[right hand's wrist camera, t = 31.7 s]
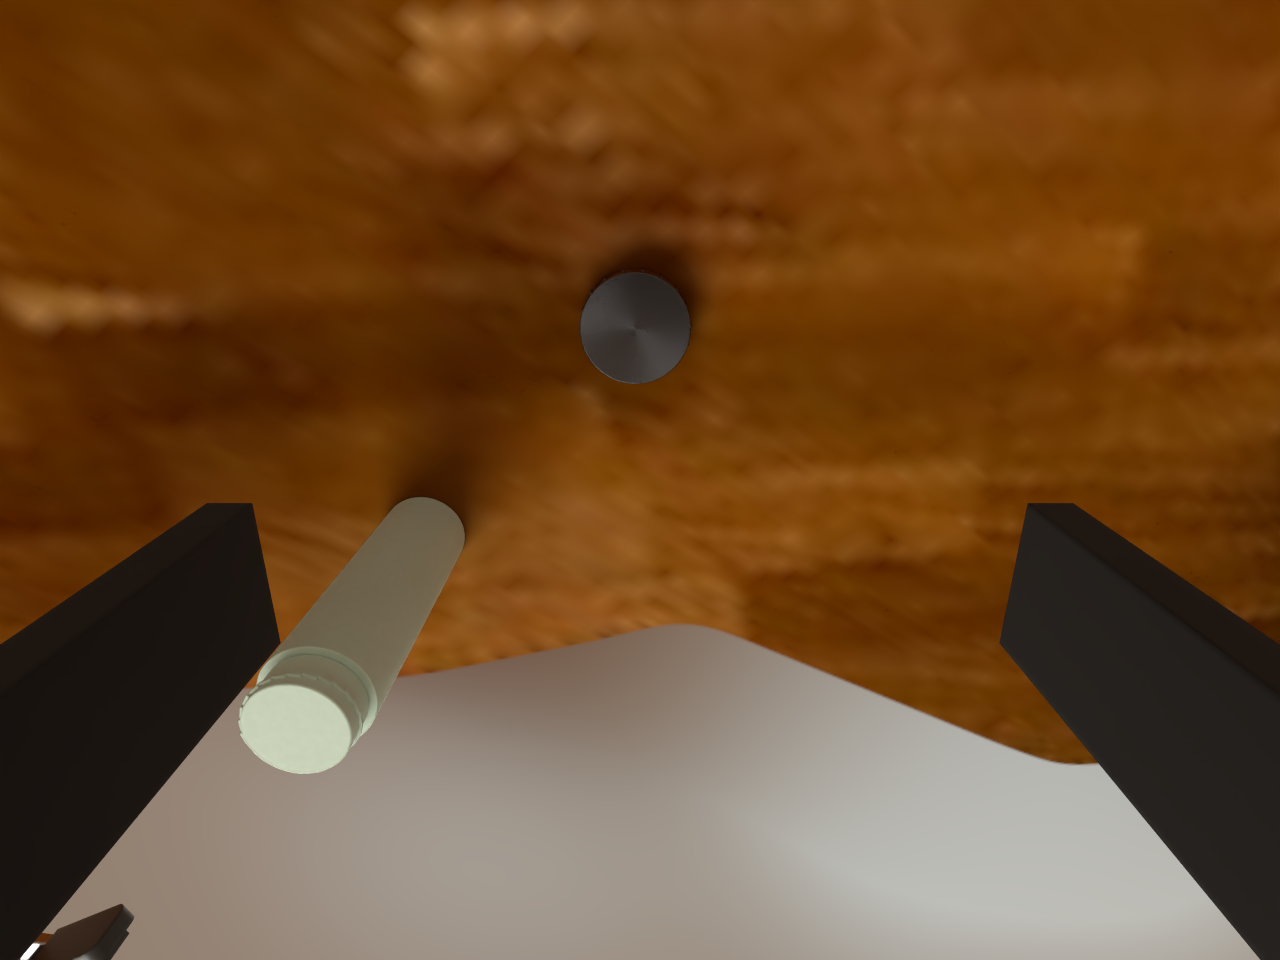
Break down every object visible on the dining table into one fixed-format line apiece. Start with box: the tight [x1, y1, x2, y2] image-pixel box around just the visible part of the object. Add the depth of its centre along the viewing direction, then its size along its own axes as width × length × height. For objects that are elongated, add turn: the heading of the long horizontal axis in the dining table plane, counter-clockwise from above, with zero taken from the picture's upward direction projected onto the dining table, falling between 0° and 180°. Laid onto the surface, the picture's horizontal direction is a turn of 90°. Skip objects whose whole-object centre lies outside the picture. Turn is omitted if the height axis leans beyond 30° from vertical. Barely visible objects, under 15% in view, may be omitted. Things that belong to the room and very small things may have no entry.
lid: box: [579, 268, 692, 384], centre depth 38 cm, size 6×6×2 cm
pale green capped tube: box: [238, 497, 465, 774], centre depth 35 cm, size 5×5×17 cm
